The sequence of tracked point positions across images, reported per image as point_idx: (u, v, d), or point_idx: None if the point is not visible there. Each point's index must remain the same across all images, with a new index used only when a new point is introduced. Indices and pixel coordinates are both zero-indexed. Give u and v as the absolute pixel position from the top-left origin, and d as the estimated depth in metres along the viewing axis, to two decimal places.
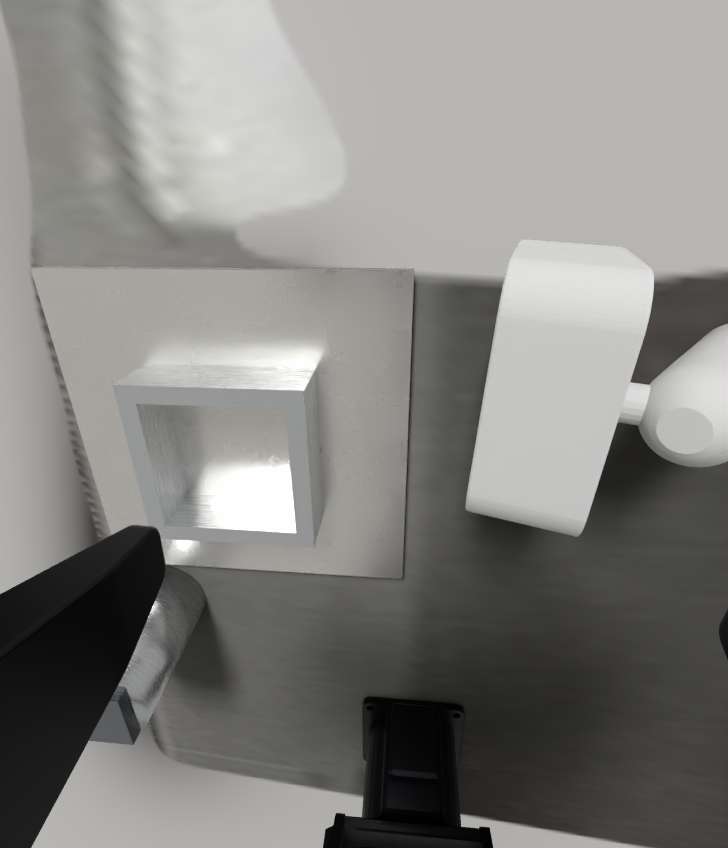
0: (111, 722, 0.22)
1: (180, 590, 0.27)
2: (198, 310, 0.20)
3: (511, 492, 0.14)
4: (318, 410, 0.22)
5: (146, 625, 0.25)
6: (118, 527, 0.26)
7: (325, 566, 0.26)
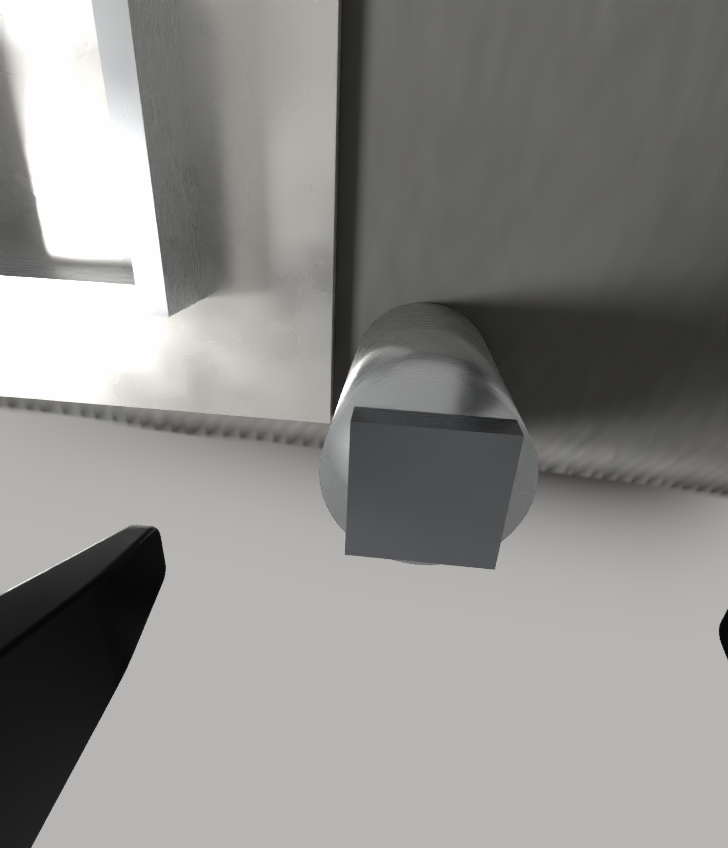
0: (432, 459, 0.09)
1: (373, 329, 0.15)
2: None
3: None
4: None
5: (349, 375, 0.13)
6: (260, 403, 0.17)
7: None
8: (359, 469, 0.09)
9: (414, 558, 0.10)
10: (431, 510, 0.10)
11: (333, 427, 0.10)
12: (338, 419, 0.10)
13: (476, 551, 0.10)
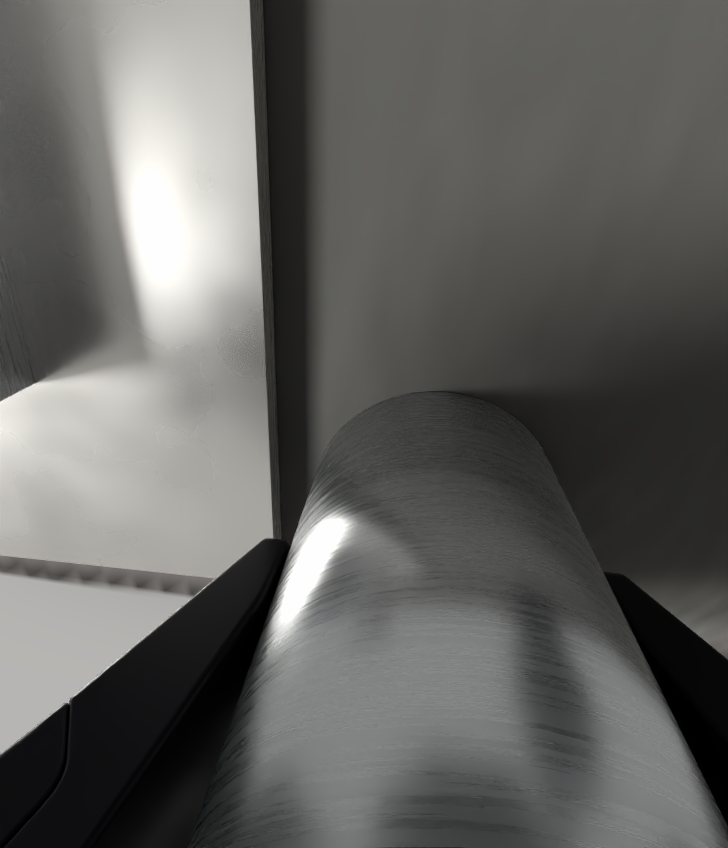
0: None
1: (341, 452, 0.08)
2: None
3: None
4: None
5: (275, 606, 0.06)
6: (155, 551, 0.10)
7: None
8: None
9: None
10: None
11: None
12: None
13: None
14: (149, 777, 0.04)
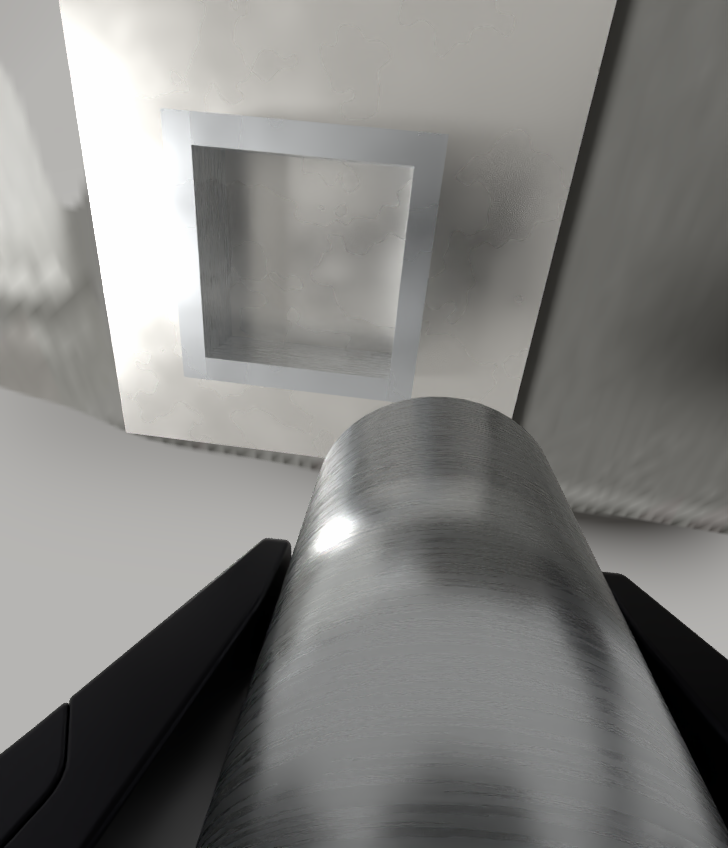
0: None
1: (344, 456, 0.08)
2: (144, 270, 0.18)
3: None
4: None
5: (279, 612, 0.06)
6: None
7: (559, 154, 0.15)
8: None
9: None
10: None
11: None
12: None
13: None
14: (149, 777, 0.04)
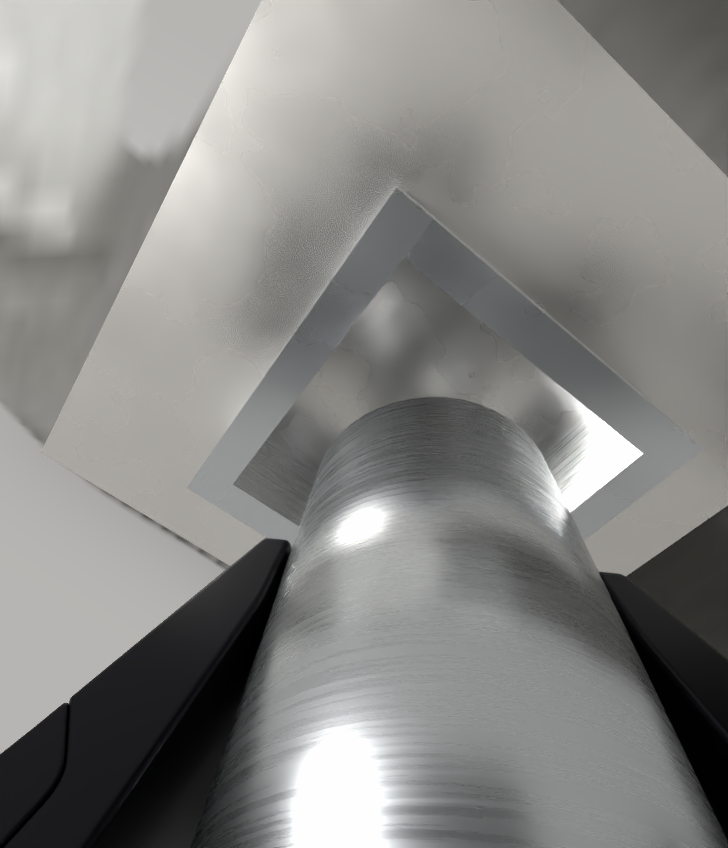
0: None
1: (342, 456, 0.08)
2: (198, 299, 0.12)
3: None
4: (472, 247, 0.11)
5: (275, 612, 0.06)
6: None
7: None
8: None
9: None
10: None
11: None
12: None
13: None
14: (149, 777, 0.04)
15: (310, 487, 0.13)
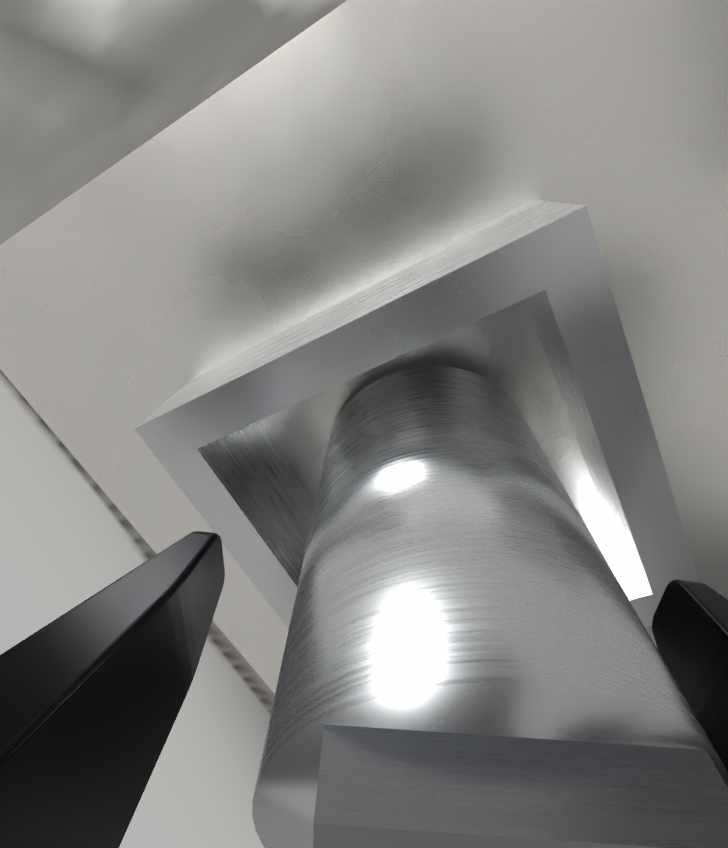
0: None
1: (355, 416, 0.09)
2: (241, 205, 0.09)
3: None
4: None
5: (318, 531, 0.07)
6: None
7: None
8: None
9: None
10: None
11: (278, 752, 0.04)
12: (288, 739, 0.04)
13: None
14: (19, 759, 0.04)
15: (273, 478, 0.11)
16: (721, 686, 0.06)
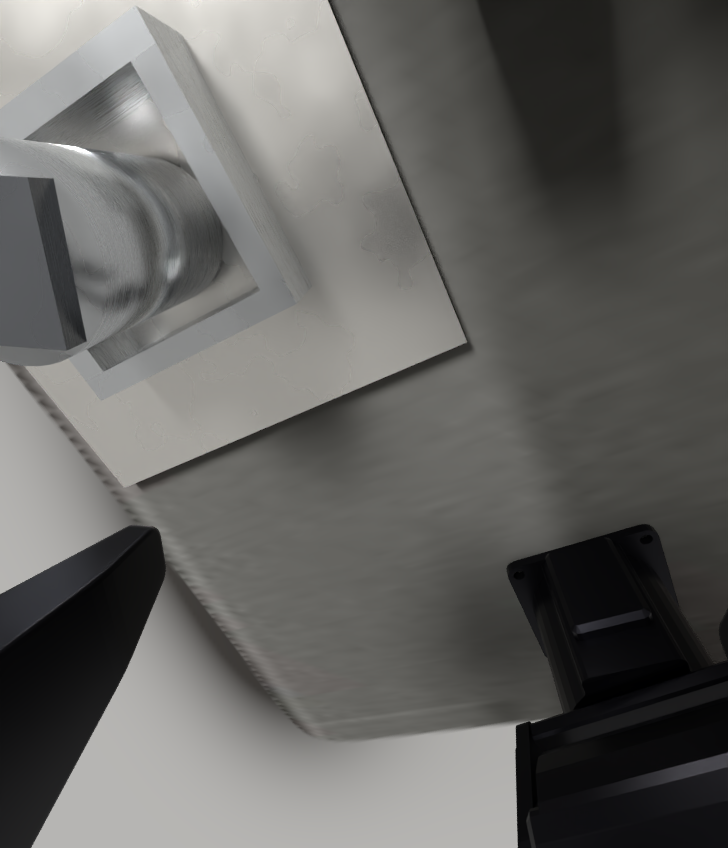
0: None
1: None
2: (0, 37, 0.14)
3: None
4: (220, 108, 0.14)
5: None
6: (97, 438, 0.20)
7: (356, 374, 0.18)
8: None
9: None
10: None
11: None
12: None
13: (40, 327, 0.10)
14: None
15: None
16: None
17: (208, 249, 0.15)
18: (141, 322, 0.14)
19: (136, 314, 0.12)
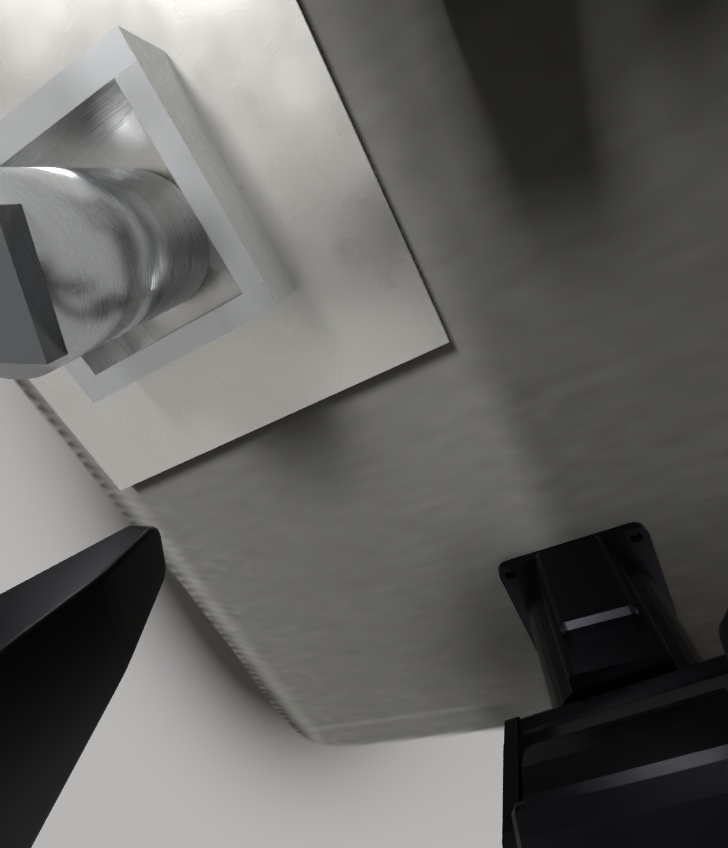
0: None
1: None
2: None
3: None
4: (203, 121, 0.15)
5: None
6: (94, 442, 0.21)
7: (342, 375, 0.18)
8: None
9: None
10: None
11: None
12: None
13: (20, 344, 0.10)
14: None
15: None
16: None
17: (192, 255, 0.16)
18: (128, 330, 0.14)
19: (118, 324, 0.13)
